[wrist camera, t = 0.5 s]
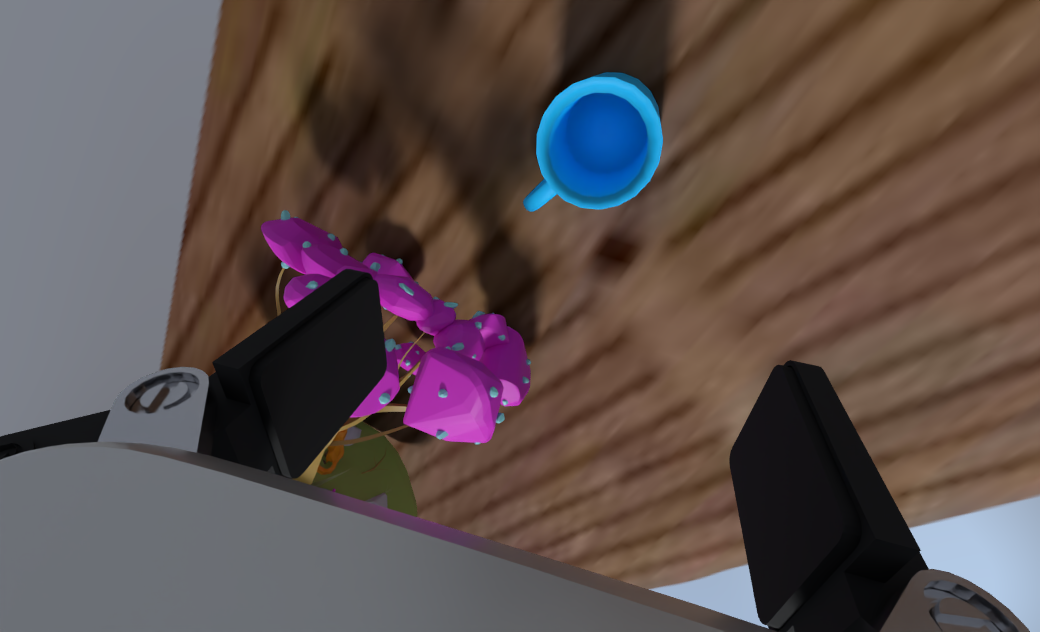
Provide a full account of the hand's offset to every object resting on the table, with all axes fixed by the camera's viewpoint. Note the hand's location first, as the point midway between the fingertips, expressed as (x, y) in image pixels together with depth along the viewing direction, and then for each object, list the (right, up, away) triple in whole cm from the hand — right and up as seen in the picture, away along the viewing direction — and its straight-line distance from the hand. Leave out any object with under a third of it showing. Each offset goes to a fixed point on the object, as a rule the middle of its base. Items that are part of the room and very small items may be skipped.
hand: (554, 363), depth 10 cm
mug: (+5, +15, +25) cm, 30 cm away
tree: (-14, -2, +42) cm, 45 cm away
